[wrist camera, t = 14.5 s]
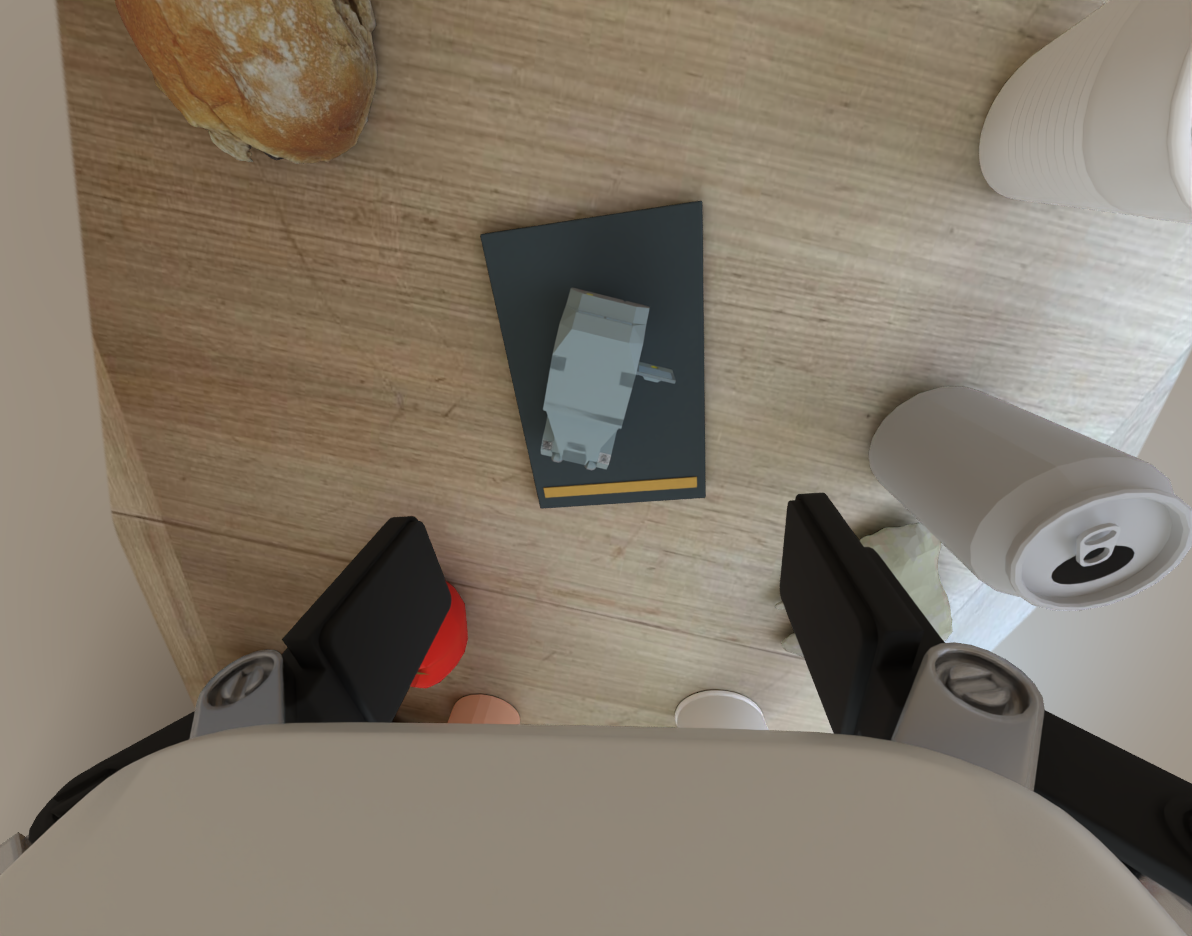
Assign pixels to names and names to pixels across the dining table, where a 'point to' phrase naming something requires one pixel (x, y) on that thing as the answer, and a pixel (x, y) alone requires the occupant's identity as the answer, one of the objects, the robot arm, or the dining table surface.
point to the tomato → (445, 645)
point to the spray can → (719, 711)
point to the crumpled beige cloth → (907, 574)
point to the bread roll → (263, 70)
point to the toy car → (594, 376)
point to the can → (1030, 499)
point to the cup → (1101, 116)
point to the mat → (672, 340)
